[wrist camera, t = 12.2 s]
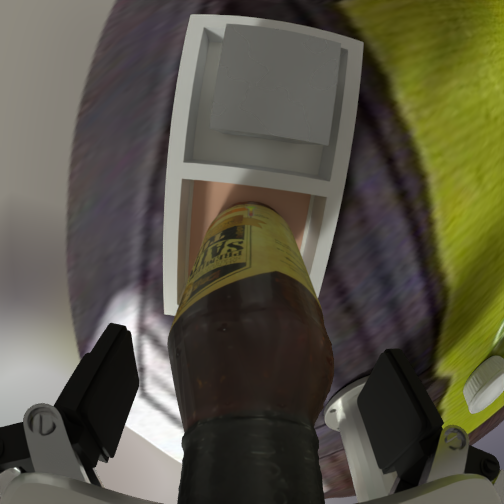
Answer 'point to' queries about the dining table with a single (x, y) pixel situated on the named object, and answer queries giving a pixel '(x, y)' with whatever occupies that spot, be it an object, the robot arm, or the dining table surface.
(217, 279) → the sauce bottle
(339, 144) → the divided bay tray
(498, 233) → the dining table surface
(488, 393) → the ramekin
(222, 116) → the grey metal block
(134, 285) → the dining table surface
